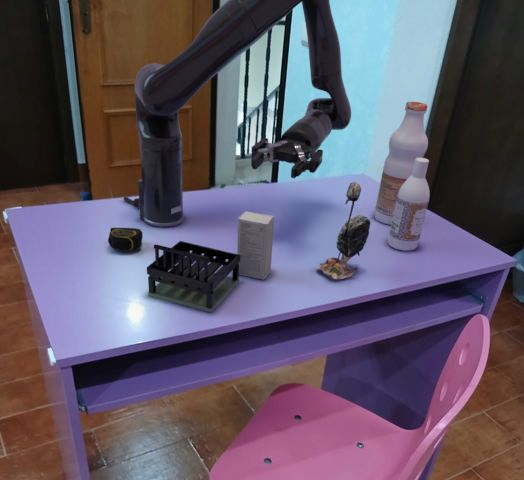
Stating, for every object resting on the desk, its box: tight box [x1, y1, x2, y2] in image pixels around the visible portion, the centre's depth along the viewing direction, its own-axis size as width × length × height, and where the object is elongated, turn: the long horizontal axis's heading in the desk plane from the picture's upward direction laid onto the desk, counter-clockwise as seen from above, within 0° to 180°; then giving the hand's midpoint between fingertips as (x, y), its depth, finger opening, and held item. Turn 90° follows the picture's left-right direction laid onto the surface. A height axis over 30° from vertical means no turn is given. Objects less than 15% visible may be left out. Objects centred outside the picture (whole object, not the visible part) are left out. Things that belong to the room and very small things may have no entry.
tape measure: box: [107, 227, 143, 252], centre depth 118 cm, size 7×7×4 cm
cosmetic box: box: [236, 210, 275, 281], centre depth 111 cm, size 6×4×12 cm
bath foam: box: [387, 157, 431, 252], centre depth 125 cm, size 7×7×20 cm
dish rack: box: [146, 240, 241, 314], centre depth 104 cm, size 13×13×10 cm
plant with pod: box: [315, 181, 373, 281], centre depth 112 cm, size 8×11×20 cm
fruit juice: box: [374, 101, 429, 226], centre depth 136 cm, size 9×9×28 cm
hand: (273, 169), depth 111 cm, fingers open, 8 cm apart
